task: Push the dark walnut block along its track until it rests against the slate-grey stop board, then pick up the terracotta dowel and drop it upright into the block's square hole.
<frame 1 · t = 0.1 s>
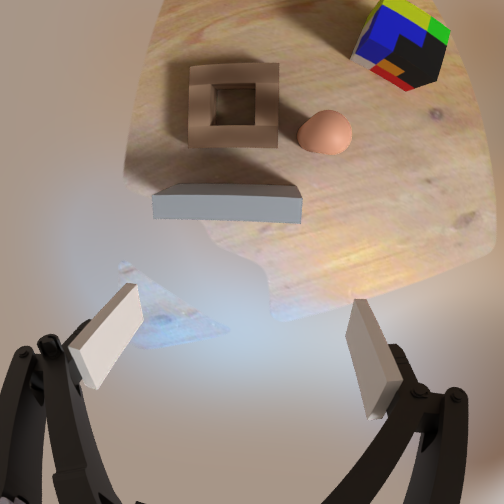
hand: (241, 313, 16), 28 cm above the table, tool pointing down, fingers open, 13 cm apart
dowel: (312, 136, 38), on the table
stop board: (235, 193, 42), on the table
puzzle toy: (387, 52, 31), on the table
block: (234, 105, 35), point 2 cm above the table, slide at 0.0 cm
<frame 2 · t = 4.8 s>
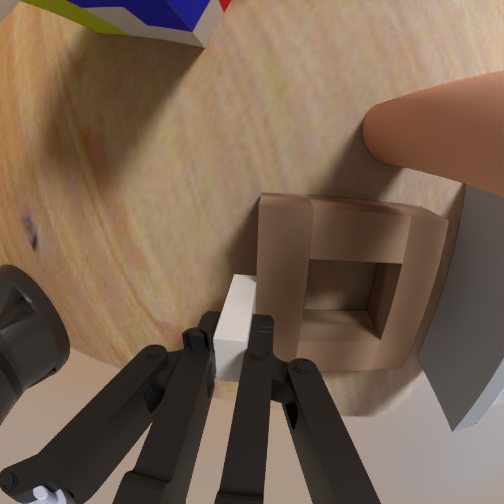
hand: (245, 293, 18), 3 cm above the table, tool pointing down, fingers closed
dowel: (391, 133, 17), on the table
stop board: (457, 278, 20), on the table
block: (343, 289, 19), point 2 cm above the table, slide at 1.1 cm, touching gripper
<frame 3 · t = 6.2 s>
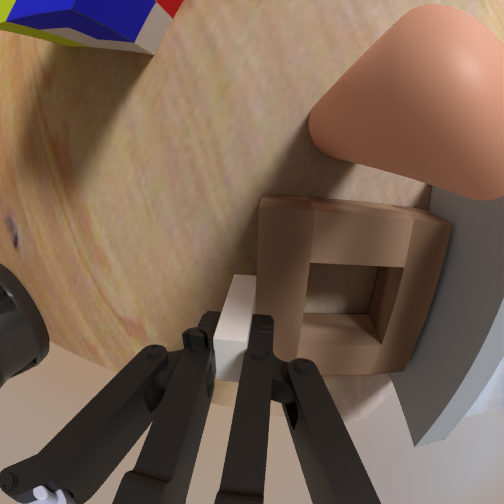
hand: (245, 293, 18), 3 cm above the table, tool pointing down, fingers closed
dowel: (341, 126, 17), on the table
stop board: (427, 281, 20), on the table
block: (344, 293, 18), point 2 cm above the table, slide at 4.9 cm, touching gripper
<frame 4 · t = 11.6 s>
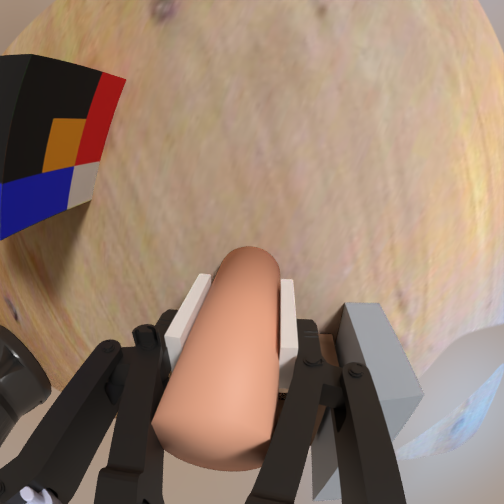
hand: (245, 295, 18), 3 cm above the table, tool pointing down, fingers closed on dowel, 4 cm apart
dowel: (249, 275, 21), on the table, touching gripper
stop board: (340, 380, 24), on the table
puzzle toy: (65, 127, 18), on the table
block: (255, 395, 23), point 2 cm above the table, slide at 4.9 cm
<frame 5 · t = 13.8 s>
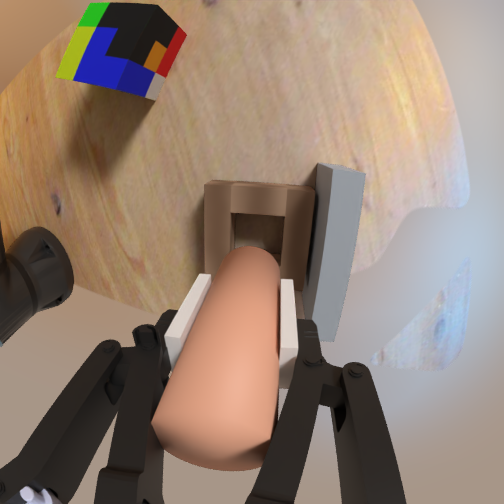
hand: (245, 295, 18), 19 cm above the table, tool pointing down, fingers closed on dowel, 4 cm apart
dowel: (249, 274, 21), point 15 cm above the table, touching gripper
stop board: (322, 234, 35), on the table
puzzle toy: (141, 60, 29), on the table
block: (257, 234, 34), point 2 cm above the table, slide at 4.9 cm
when the fingers open (5 cm above the table, at t = 16.6 s): dowel drops 2 cm, resting in block.
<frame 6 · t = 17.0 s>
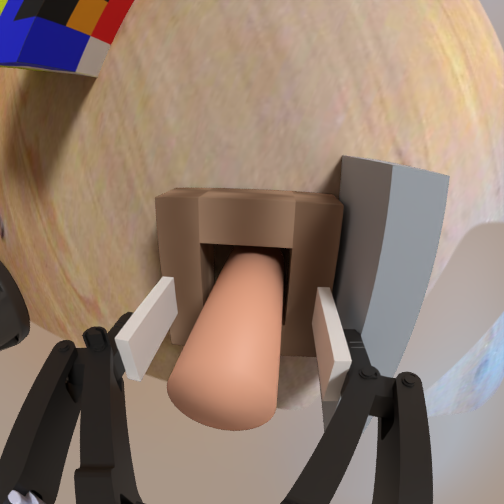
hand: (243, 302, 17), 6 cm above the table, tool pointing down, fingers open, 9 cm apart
dowel: (256, 263, 23), resting in block
stop board: (348, 268, 22), on the table
puzzle toy: (83, 28, 16), on the table
block: (247, 274, 21), point 2 cm above the table, slide at 4.9 cm
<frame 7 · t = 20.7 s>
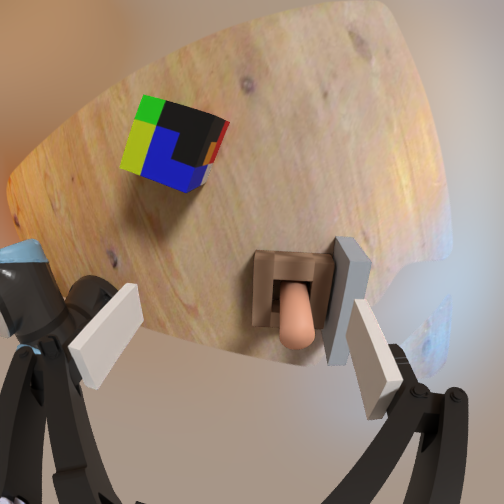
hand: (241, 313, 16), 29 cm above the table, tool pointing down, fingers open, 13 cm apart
dowel: (293, 284, 47), resting in block
stop board: (336, 286, 47), on the table
puzzle toy: (188, 141, 40), on the table
block: (290, 291, 45), point 2 cm above the table, slide at 4.9 cm
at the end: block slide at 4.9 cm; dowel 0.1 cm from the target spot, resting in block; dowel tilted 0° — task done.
